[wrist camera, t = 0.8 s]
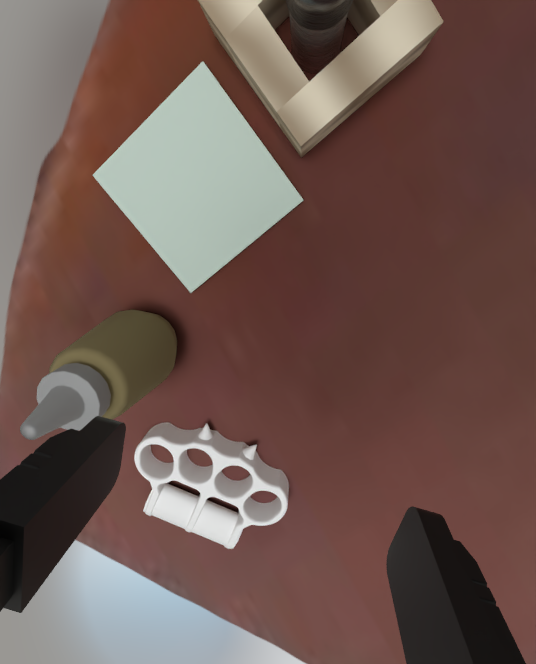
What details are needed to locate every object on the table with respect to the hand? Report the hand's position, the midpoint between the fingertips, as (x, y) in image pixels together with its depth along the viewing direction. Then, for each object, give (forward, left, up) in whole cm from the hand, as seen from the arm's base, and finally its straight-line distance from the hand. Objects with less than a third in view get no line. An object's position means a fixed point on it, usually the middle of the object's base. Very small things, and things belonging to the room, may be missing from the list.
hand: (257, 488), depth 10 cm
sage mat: (+1, -13, -27) cm, 30 cm away
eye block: (-14, -15, -27) cm, 34 cm away
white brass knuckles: (+21, +12, -28) cm, 37 cm away
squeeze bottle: (+15, -5, -28) cm, 32 cm away
